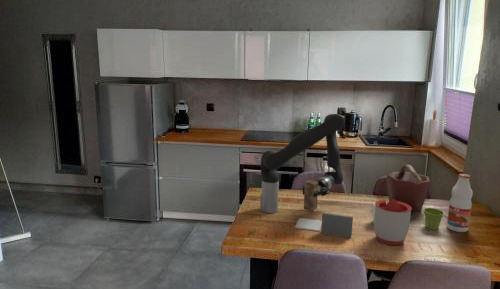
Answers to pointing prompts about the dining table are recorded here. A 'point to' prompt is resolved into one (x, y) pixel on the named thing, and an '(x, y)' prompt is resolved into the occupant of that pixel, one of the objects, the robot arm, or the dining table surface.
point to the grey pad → (309, 224)
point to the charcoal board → (337, 225)
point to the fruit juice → (460, 205)
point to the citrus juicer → (391, 221)
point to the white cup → (374, 210)
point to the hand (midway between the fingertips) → (308, 194)
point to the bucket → (408, 187)
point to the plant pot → (433, 218)
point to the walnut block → (310, 195)
